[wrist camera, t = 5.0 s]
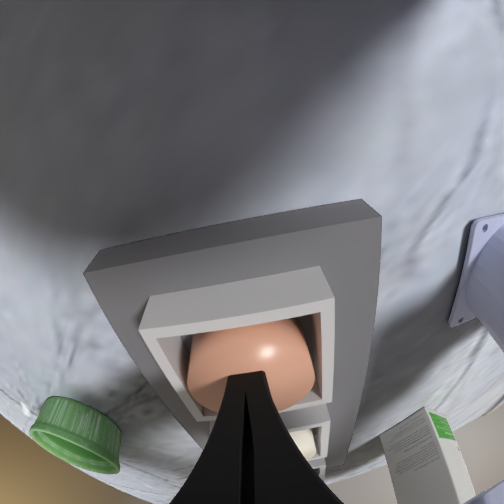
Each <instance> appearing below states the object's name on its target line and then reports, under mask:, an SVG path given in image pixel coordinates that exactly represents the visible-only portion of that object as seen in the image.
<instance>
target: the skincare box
mask: <svg viewBox="0 0 504 504" xmlns="http://www.w3.org/2000/svg"><path fill="white" fill-rule="evenodd" d="M379 437H380V440H381V443H382V447H383V450H384V453H385V457H386V460H387V464H388V468H389V471H390V475H391V479H392V483H393V487H394V491H395V495H396V499H397V503H398V504H463V503H465V502H466V501H468V500H470V499H471V498H473V497H475V496H476V494H475V491H474V488H473V485H472V482H471V479H470V476H469V473H468V471H467V468H466V465H465V462H464V460H463V457H462V455H461V452H460V449H459V447H458V444H457V442H456V439H455V437H454V435H453V432H452V430H451V427H450V425H449V423H448V420H447V418H446V416H445V415H442V414H441V413H438V412H436V411H434V410H431V409H429V408H427V407H423V408H421V409H420V410H418V411H417V412H416V413H414V414H413V415H411V416H410V417H408V418H407V419H405V420H403V421H402V422H400V423H399V424H397V425H395V426H394V427H392V428H391V429H389V430H387V431H386V432H384V433H382V434H380V435H379Z"/></svg>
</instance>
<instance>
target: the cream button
mask: <svg viewBox="0 0 504 504" xmlns="http://www.w3.org/2000/svg"><path fill="white" fill-rule="evenodd" d="M289 434H290V435H291V437H292V439H293V440H294V442H295V444H296V445H297V447H298V448H299V450H300V451H301V453H302V454H303V456H304V457H305V459H306V460H309V459H310V458H312V457H313V456H314V455H315V454H316V447H315V443H314V438H313V433H312V428H310V429H306V430H300V431H295V432H289Z"/></svg>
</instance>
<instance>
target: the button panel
mask: <svg viewBox="0 0 504 504" xmlns="http://www.w3.org/2000/svg"><path fill="white" fill-rule="evenodd" d="M381 232H382V216H381V215H380V214H379V213H378V212H376V211H375V210H374V209H373V208H372V207H371V206H369V205H368V204H367V203H366V202H365V201H364V200H362V199H358V200H351V201H345V202H339V203H333V204H327V205H321V206H315V207H309V208H303V209H297V210H292V211H286V212H281V213H275V214H270V215H264V216H259V217H253V218H248V219H243V220H238V221H233V222H228V223H223V224H217V225H213V226H208V227H203V228H198V229H193V230H188V231H183V232H179V233H174V234H169V235H165V236H160V237H156V238H151V239H147V240H142V241H138V242H133V243H129V244H125V245H120V246H116V247H112V248H107V249H103V250H100V251H99V252H98V254H97V255H96V256H95V258H94V259H93V260H92V262H91V263H90V264H89V266H88V267H87V269H86V270H85V271H84V273H83V274H84V276H85V278H86V280H87V282H88V284H89V286H90V288H91V290H92V292H93V294H94V296H95V298H96V299H97V301H98V303H99V305H100V307H101V309H102V310H103V312H104V314H105V316H106V317H107V319H108V321H109V323H110V324H111V326H112V328H113V329H114V331H115V333H116V334H117V336H118V338H119V339H120V341H121V343H122V344H123V346H124V347H125V349H126V350H127V352H128V354H129V355H130V357H131V358H132V360H133V361H134V363H135V364H136V366H137V367H138V369H139V370H140V371H141V373H142V374H143V376H144V377H145V379H146V380H147V381H148V383H149V384H150V386H151V387H152V388H153V390H154V391H155V392H156V394H157V395H158V396H159V398H160V399H161V400H162V402H163V403H164V404H165V406H166V407H167V408H168V409H169V411H170V412H171V413H172V414H173V416H174V417H175V418H176V419H177V421H178V422H179V423H180V424H181V425H182V427H183V428H184V429H185V430H186V431H187V432H188V434H189V435H190V436H191V437H192V438H193V439H194V440H195V442H196V443H197V444H198V445H199V446H200V447H201V448H202V449H203V450H204V447H205V445H206V443H207V441H208V438H209V436H210V434H211V431H212V429H213V426H214V424H215V421H216V418H217V415H218V412H215V411H212V410H210V409H208V408H206V407H204V406H203V405H201V404H200V403H199V402H197V401H196V400H195V399H194V398H193V396H192V395H191V394H190V392H189V390H188V386H187V379H188V370H189V362H190V354H191V346H192V338H193V334H197V333H204V332H211V331H218V330H225V329H231V328H238V327H244V326H250V325H256V324H261V323H267V322H273V321H278V320H283V319H289V318H294V317H296V318H297V319H298V321H299V322H300V324H301V326H302V329H303V332H304V335H305V339H306V343H307V346H308V350H309V354H310V357H311V361H312V365H313V369H314V373H315V381H314V385H313V387H312V389H311V390H310V392H309V393H308V394H307V395H306V396H305V397H304V398H303V399H302V400H301V401H299V402H298V403H296V404H295V405H293V406H291V407H289V408H287V409H285V410H282V411H279V412H278V413H279V415H280V417H281V419H282V421H283V423H284V425H285V427H286V428H287V430H288V432H295V431H300V430H306V429H310V428H312V433H313V438H314V443H315V447H316V454H315V455H314V456H313V457H312V458H310V459H309V460H307V461H308V463H309V464H310V465H311V467H312V468H313V469H314V471H315V472H316V473H317V474H318V476H319V477H320V478H321V479H322V481H323V482H324V477H325V469H326V468H331V467H335V466H339V465H343V464H344V462H345V459H346V456H347V452H348V449H349V445H350V442H351V438H352V435H353V431H354V427H355V423H356V419H357V415H358V411H359V407H360V402H361V398H362V393H363V388H364V383H365V378H366V373H367V368H368V362H369V356H370V350H371V344H372V337H373V330H374V322H375V314H376V305H377V296H378V285H379V272H380V256H381Z"/></svg>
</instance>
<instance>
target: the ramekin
mask: <svg viewBox="0 0 504 504" xmlns="http://www.w3.org/2000/svg"><path fill="white" fill-rule="evenodd" d="M29 433H30V436H31V437H32V438H33V439H34V441H35V442H37V443H38V444H39V445H40V446H41V447H43V448H44V449H45V450H47V451H48V452H50V453H51V454H53V455H55V456H57V457H58V458H60V459H62V460H64V461H66V462H68V463H70V464H73V465H75V466H78V467H81V468H83V469H86V470H90V471H93V472H98V473H103V474H116V473H119V471H120V464H119V451H120V442H121V432H120V429H119V428H118V426H117V425H116V424H115V423H114V422H113V421H112V420H111V419H109V418H108V417H107V416H105V415H104V414H102V413H101V412H99V411H97V410H96V409H94V408H92V407H90V406H88V405H86V404H83V403H81V402H78V401H76V400H73V399H69V398H65V397H50V398H48V399H47V400H46V402H45V403H44V405H43V407H42V409H41V411H40V413H39V416H38V418H37V420H36V422H35V423H34V424H33V425H32V426H31V428H30V431H29Z"/></svg>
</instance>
